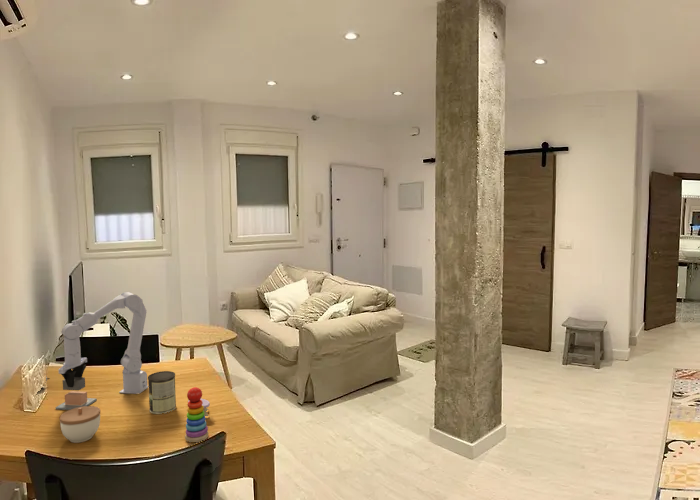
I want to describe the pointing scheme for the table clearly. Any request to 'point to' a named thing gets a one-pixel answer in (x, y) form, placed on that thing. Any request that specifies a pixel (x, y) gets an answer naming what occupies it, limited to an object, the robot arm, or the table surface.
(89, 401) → the slate baseplate
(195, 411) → the stacking toy
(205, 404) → the toy table
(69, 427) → the lidded bowl
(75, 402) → the terracotta brick
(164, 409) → the coffee can
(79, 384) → the charcoal brick
